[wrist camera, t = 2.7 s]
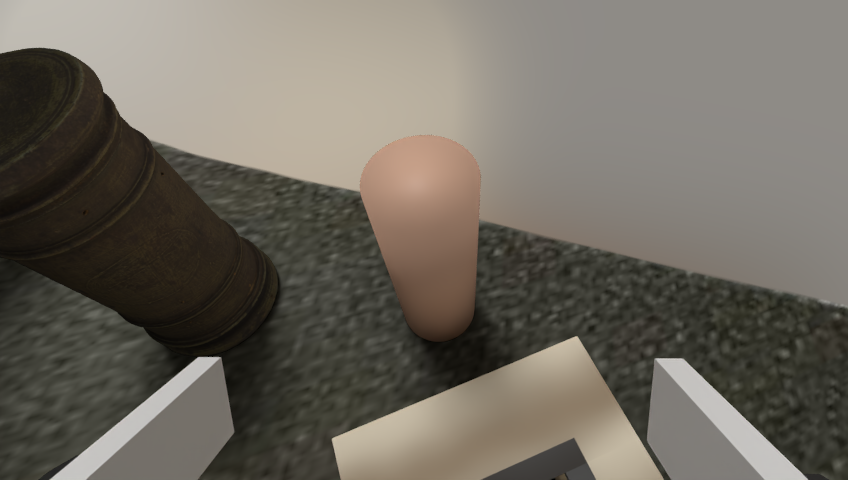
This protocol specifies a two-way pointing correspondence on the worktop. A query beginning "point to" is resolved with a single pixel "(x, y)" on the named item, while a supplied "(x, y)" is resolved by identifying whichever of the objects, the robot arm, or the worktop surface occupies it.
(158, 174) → the container
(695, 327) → the worktop surface
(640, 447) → the band board
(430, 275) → the peg
